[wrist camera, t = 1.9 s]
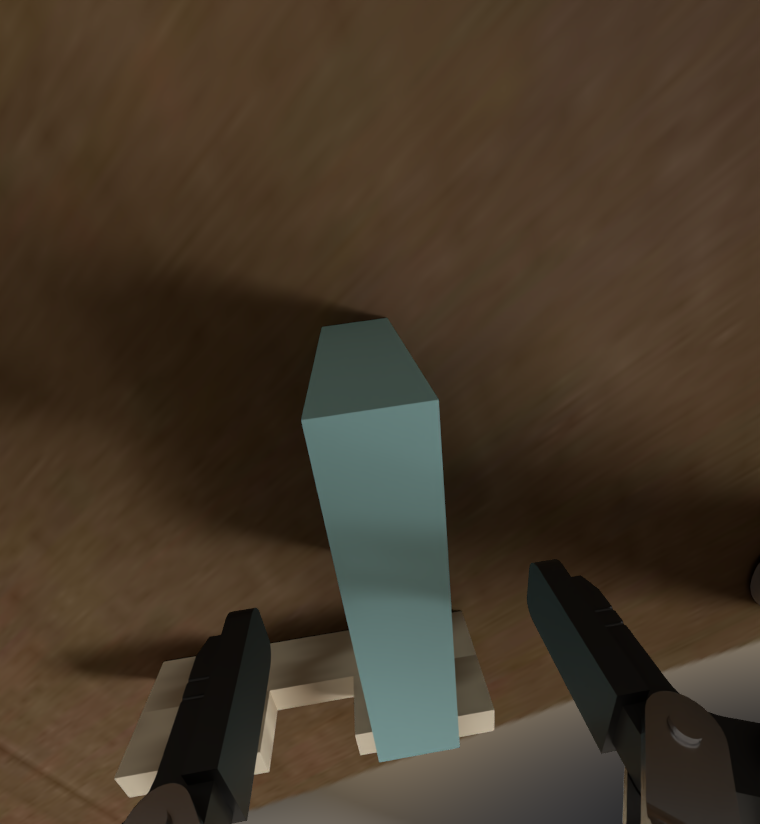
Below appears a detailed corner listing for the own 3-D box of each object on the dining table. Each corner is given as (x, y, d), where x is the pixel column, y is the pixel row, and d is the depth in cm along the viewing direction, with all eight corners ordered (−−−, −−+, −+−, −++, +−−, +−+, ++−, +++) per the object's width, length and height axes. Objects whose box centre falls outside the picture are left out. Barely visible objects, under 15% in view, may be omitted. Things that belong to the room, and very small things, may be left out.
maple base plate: (461, 610, 26) (494, 709, 20) (462, 630, 27) (494, 730, 21) (163, 661, 25) (114, 778, 20) (173, 680, 26) (129, 797, 20)
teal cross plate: (321, 327, 17) (301, 419, 8) (387, 317, 17) (438, 399, 8) (363, 557, 23) (379, 762, 14) (412, 549, 23) (459, 747, 14)
